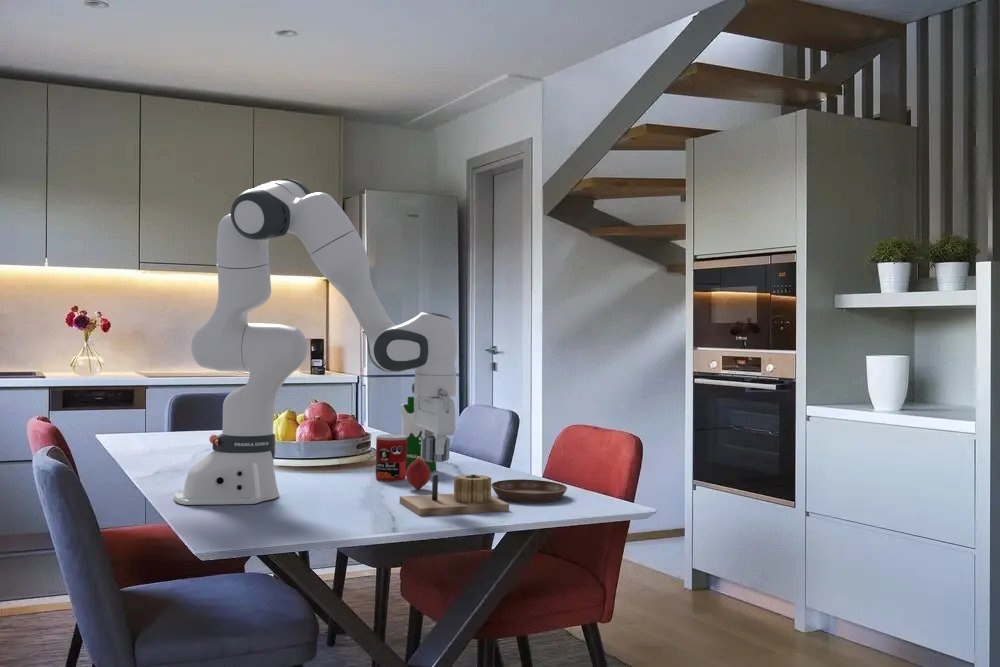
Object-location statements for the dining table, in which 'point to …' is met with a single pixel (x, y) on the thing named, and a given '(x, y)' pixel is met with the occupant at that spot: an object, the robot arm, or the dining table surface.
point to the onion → (418, 473)
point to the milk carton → (412, 434)
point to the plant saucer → (529, 490)
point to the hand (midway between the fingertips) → (434, 452)
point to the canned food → (391, 457)
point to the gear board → (457, 498)
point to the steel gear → (428, 450)
